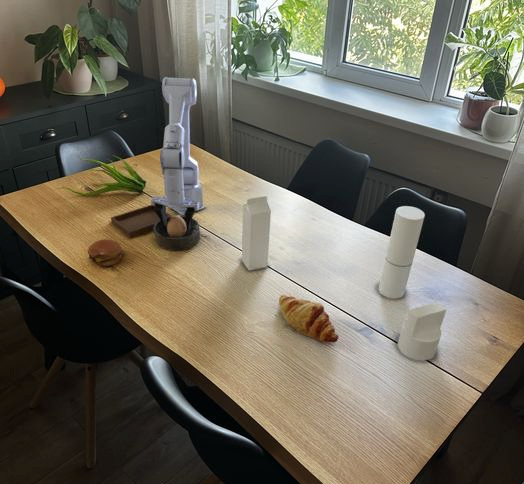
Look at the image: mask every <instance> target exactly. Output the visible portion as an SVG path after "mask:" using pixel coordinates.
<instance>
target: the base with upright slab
mask: <svg viewBox="0 0 524 484" xmlns="http://www.w3.org/2000/svg"><path fill="white" fill-rule="evenodd" d="M446 313H447V308H446V307H445V305H444V304H442V303H441V302H439V301H436V302H433V303H429V304H425V305H421V306H418V307H414V308H409V310H408V313H407V316H406V319H405V320H404V321H403V322H402V325H401V329H400V333H399V337H398V340H397V346H398V350H399V351H400V353H402V354H403V355H404V356H406V357H407V358H409V359H412V360H415V361H424V362H425V361H429V360H431V359H432V358H434V357H435V355H436V353H437V349H438V345H439V342H440V340H441V337H442V330H441V327H442V325H443V322H444V319H445V316H446Z"/></svg>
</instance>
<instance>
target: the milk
mask: <svg viewBox="0 0 524 484" xmlns="http://www.w3.org/2000/svg"><path fill="white" fill-rule="evenodd" d="M271 215H272V210H271V207H270V205H269V203H268V196H267V195H264V196H256V197H251V198H247V200H246V203H244V204H242V232H241V233H242V235H241V237H242V239H241V261H242V263H243V265H244V266H245V267H246V269H247V270H248V271H255V270H259V269H264V268H268V266H269V265H268V263H269V250H270V249H269V248H270V247H269V246H270V231H271Z"/></svg>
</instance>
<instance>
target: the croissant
mask: <svg viewBox="0 0 524 484" xmlns="http://www.w3.org/2000/svg"><path fill="white" fill-rule="evenodd" d="M278 303H279V305H280V311H281V314H282V316H283V318H284V319H285V322H286V323H287V326H288V327H291V328H293V329H294V330H295V331H296V332H297V333H299V334H301V335H303V336H306V337H310V338H312V339H315V340H318V341H320V342H324V343H336V342H338V340H339V335H338V334H337V333H336V330H335V326H334V325H333V323H332V322H331V321H330V315H329V314H328V313H327V312H326V311H325V306H324V305H323V304H321V302H314V301H310V300H307V299H303V298H299V299H298V298H297V297H294V296H287V295H284V294H282V295H280V297H279V299H278Z"/></svg>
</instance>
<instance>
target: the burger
mask: <svg viewBox="0 0 524 484" xmlns="http://www.w3.org/2000/svg"><path fill="white" fill-rule="evenodd" d="M87 254H88V259H89V260H91V263H93V264H94V265H100V266H102V267H109V266H113V265H115V264H117V263H118V262H120V261H121V258H122V257H123V255H124V249H123V248H122V245H121V244H120V243H119V242H118V241H116V240H112V239H108V238H107V239H105V238H103V239H99V240H96V241H94V242H93V243H91V244H90V246H89V247H88V249H87Z"/></svg>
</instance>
